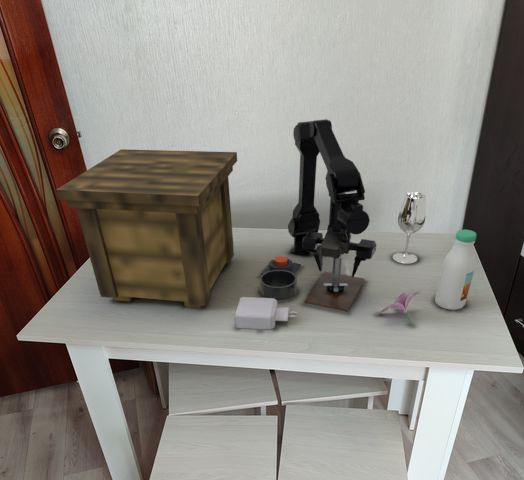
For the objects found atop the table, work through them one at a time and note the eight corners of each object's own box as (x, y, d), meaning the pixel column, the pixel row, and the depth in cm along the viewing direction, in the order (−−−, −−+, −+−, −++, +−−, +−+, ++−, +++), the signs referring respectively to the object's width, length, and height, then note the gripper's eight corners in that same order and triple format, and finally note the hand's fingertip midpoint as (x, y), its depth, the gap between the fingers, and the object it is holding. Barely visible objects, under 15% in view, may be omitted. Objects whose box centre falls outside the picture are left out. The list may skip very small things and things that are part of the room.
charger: (295, 332, 117) (236, 329, 119) (297, 312, 125) (242, 310, 126) (295, 316, 114) (235, 314, 116) (298, 297, 122) (241, 295, 124)
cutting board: (324, 274, 141) (325, 271, 140) (364, 282, 136) (364, 278, 136) (304, 304, 128) (304, 300, 127) (346, 313, 124) (347, 309, 123)
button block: (273, 262, 148) (273, 253, 146) (300, 267, 145) (300, 258, 143) (260, 276, 141) (260, 267, 139) (288, 282, 138) (288, 273, 136)
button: (277, 260, 143) (277, 255, 142) (289, 262, 142) (289, 257, 141) (272, 266, 141) (272, 260, 140) (284, 268, 139) (284, 263, 138)
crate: (212, 318, 124) (198, 195, 104) (91, 307, 130) (56, 189, 110) (243, 258, 151) (236, 152, 131) (141, 252, 157) (120, 149, 137)
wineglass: (390, 262, 146) (399, 198, 134) (394, 251, 151) (403, 189, 139) (416, 265, 143) (427, 201, 131) (419, 255, 149) (431, 192, 137)
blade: (323, 283, 134) (324, 251, 128) (346, 283, 134) (349, 251, 128) (323, 295, 129) (325, 262, 123) (348, 295, 128) (351, 262, 122)
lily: (424, 312, 125) (413, 278, 122) (438, 320, 113) (427, 283, 111) (380, 327, 126) (369, 294, 124) (390, 337, 115) (378, 301, 113)
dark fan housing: (269, 281, 139) (269, 267, 136) (301, 287, 135) (302, 273, 132) (254, 297, 131) (254, 283, 129) (288, 304, 128) (288, 290, 125)
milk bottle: (449, 313, 122) (467, 241, 110) (428, 300, 127) (443, 230, 115) (471, 305, 125) (491, 234, 112) (449, 292, 130) (466, 223, 118)
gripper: (294, 225, 116) (294, 281, 126) (369, 236, 110) (362, 294, 119) (309, 210, 124) (308, 263, 134) (380, 219, 118) (373, 274, 127)
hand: (336, 273), depth 128 cm, fingers open, 9 cm apart
